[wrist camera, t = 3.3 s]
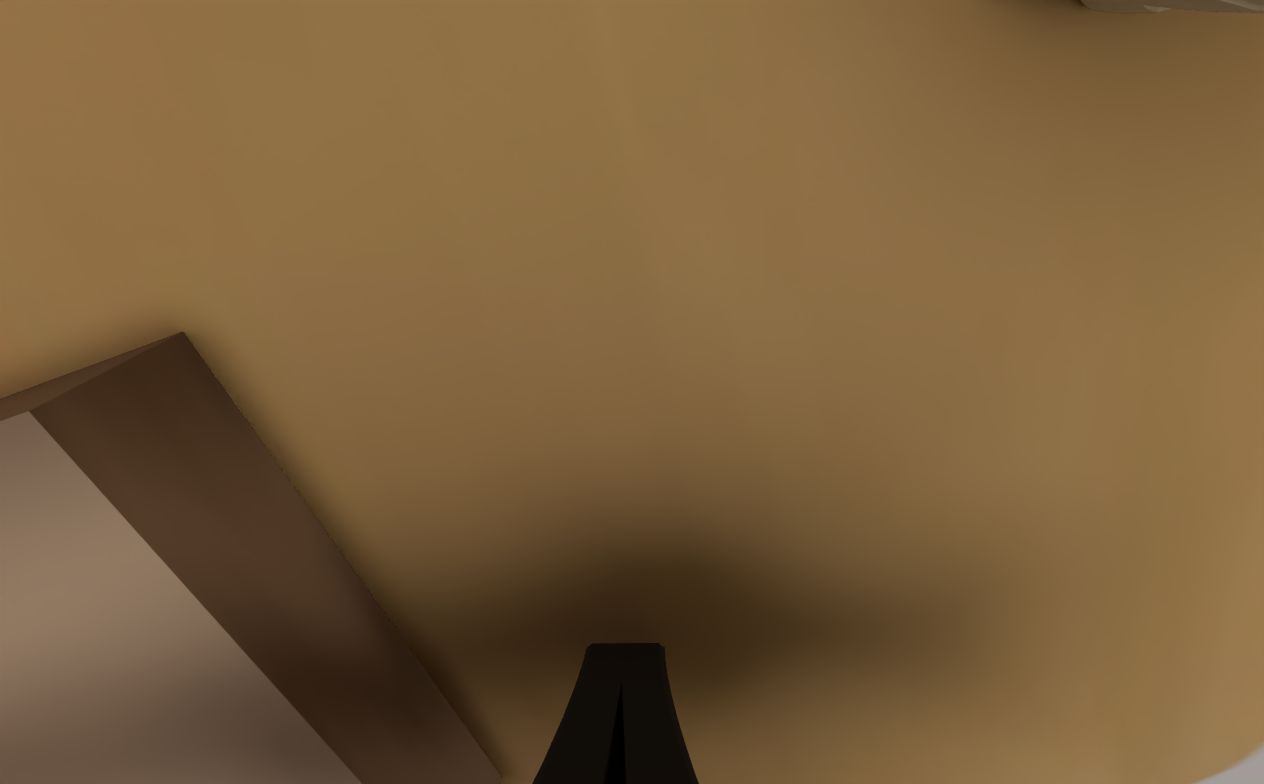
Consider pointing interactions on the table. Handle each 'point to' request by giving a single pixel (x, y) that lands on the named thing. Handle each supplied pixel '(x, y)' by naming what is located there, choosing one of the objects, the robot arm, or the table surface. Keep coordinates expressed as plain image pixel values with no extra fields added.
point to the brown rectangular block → (190, 602)
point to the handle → (1174, 5)
